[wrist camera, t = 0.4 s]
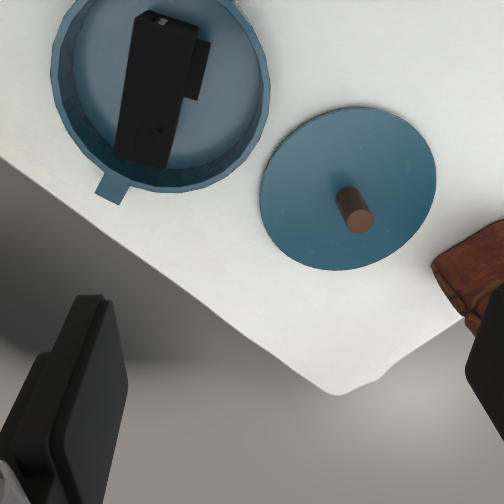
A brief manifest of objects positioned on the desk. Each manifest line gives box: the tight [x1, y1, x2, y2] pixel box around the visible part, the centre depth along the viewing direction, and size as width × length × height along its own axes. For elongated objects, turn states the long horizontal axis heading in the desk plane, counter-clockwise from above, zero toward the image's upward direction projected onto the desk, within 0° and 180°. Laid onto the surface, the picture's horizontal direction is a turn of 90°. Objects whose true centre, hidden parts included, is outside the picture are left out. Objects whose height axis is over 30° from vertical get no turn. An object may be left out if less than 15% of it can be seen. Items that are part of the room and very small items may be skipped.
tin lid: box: [260, 108, 436, 271], centre depth 44 cm, size 18×18×6 cm
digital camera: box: [113, 10, 211, 169], centre depth 37 cm, size 10×5×7 cm, turn 163°
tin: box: [50, 0, 271, 205], centre depth 38 cm, size 17×23×5 cm
